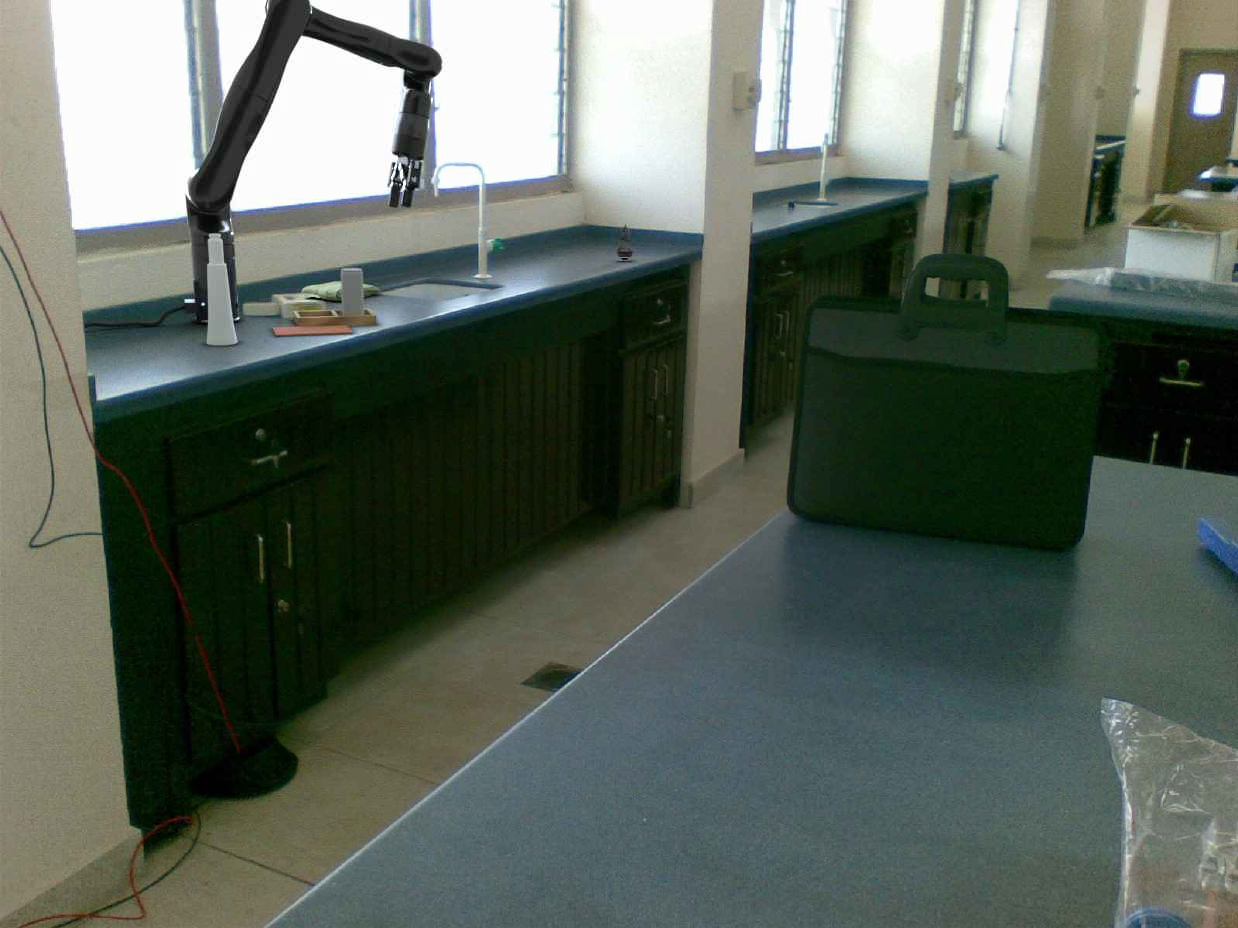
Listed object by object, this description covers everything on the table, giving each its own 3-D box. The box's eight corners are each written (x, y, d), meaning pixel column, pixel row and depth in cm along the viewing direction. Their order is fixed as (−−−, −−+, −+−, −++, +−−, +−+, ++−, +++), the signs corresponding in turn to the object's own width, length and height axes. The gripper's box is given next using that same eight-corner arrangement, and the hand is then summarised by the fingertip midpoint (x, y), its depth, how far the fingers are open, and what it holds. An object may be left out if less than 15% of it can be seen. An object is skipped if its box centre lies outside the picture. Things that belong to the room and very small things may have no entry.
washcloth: (382, 294, 313) (381, 282, 312) (338, 303, 298) (338, 290, 297) (342, 290, 318) (341, 278, 318) (297, 298, 303) (296, 285, 302)
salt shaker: (636, 261, 398) (637, 224, 394) (627, 262, 393) (628, 225, 390) (621, 259, 401) (622, 223, 397) (612, 261, 396) (613, 224, 393)
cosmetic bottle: (243, 343, 245) (236, 234, 239) (216, 347, 241) (208, 236, 234) (227, 339, 249) (220, 231, 243) (200, 342, 245) (192, 233, 238)
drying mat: (275, 336, 253) (275, 334, 253) (272, 329, 261) (272, 327, 261) (352, 333, 259) (352, 332, 258) (347, 326, 267) (347, 324, 267)
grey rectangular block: (359, 324, 270) (357, 271, 266) (339, 323, 271) (337, 269, 267) (367, 321, 274) (366, 268, 271) (347, 319, 275) (346, 267, 272)
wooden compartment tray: (297, 327, 264) (297, 317, 263) (294, 320, 272) (293, 310, 272) (376, 325, 270) (376, 315, 269) (370, 318, 278) (370, 308, 277)
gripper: (385, 134, 279) (373, 203, 280) (406, 130, 267) (394, 202, 268) (415, 142, 283) (403, 211, 284) (437, 138, 271) (425, 210, 272)
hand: (399, 207), depth 276 cm, fingers open, 8 cm apart
